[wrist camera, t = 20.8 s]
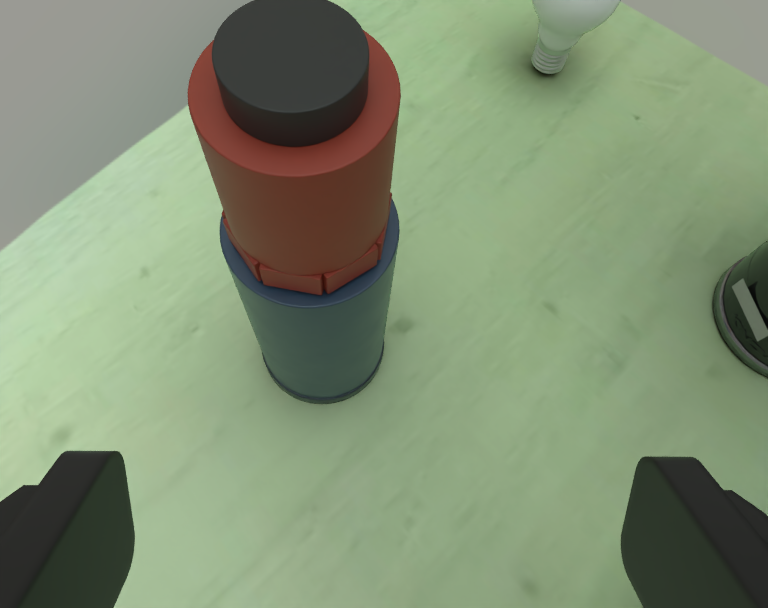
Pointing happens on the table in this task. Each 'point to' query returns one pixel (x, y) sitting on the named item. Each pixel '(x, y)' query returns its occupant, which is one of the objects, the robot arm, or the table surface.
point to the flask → (320, 326)
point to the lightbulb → (565, 28)
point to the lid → (299, 140)
